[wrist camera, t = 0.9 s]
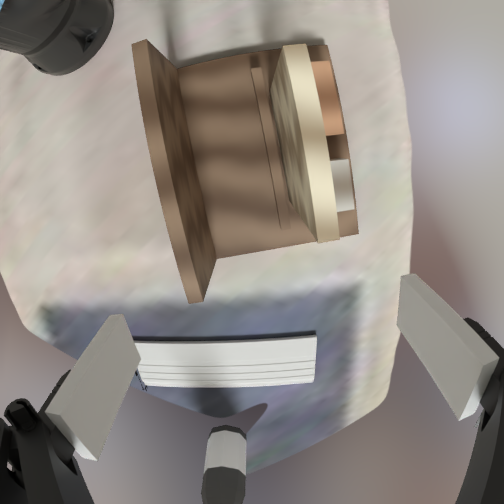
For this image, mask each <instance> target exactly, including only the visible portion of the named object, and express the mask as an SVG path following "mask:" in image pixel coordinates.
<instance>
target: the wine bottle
mask: <svg viewBox="0 0 504 504" xmlns="http://www.w3.org/2000/svg"><path fill="white" fill-rule="evenodd" d="M245 479H246V435H245V434H244V433H243V431H242V430H241V429H240V428H236V427H232V426H228V425H223V426H219V427H215V428H213V429H212V431H211V433H210V435H209V438H208V445H207V453H206V461H205V468H204V476H203V483H202V491H201V494H202V501H203V504H242V503H243V500H244V497H245Z"/></svg>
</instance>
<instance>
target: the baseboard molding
mask: <svg viewBox="0 0 504 504" xmlns="http://www.w3.org/2000/svg"><path fill="white" fill-rule="evenodd" d="M134 343H135V345H136V348H137V350H138V353H139V355H140V357H141V360H140V362H139V365H138V370H139V373H140V375H141V379H142V381H143V382H144V383H145V385H146V387H147V385H150V386H168V387H208V388H214V387H255V386H272V385H286V384H298V383H308V382H313V379H314V372H315V358H316V343H317V336H316V335H307V336H296V337H283V338H268V339H251V340H227V341H134ZM135 374H136V376H137V374H138V373H137V371H135ZM138 377H139V376H138ZM139 380H140V379H139ZM140 382H141V381H140ZM141 385H142V384H141ZM146 387H145V389H146ZM142 388H143V387H142ZM143 390H144V388H143ZM146 391H147V389H146Z"/></svg>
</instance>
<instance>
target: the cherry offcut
mask: <svg viewBox="0 0 504 504" xmlns="http://www.w3.org/2000/svg"><path fill="white" fill-rule="evenodd" d="M311 66H312V70H313V74H314V79H315V83H316V88H317V93H318V98H319V102H320V107H321V113H322V118H323V123H324V129H325V134H326V136H331V135H338V134H344V128H343V123H342V117H341V112H340V107H339V102H338V97H337V92H336V87H335V83H334V78H333V74H332V70H331V66H330V61H317V62H311Z"/></svg>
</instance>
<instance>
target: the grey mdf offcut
mask: <svg viewBox="0 0 504 504" xmlns="http://www.w3.org/2000/svg"><path fill="white" fill-rule="evenodd" d="M330 165H331V171H332V178H333V185H334V193H335V201H336V209H337V212H340V211H347V210H353V209H355V208H354V199H353V190H352V182H351V174H350V167H349V160H348V159H344V158H334V159H330Z"/></svg>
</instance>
